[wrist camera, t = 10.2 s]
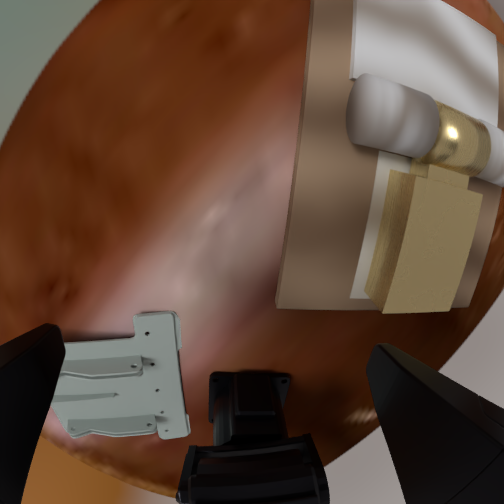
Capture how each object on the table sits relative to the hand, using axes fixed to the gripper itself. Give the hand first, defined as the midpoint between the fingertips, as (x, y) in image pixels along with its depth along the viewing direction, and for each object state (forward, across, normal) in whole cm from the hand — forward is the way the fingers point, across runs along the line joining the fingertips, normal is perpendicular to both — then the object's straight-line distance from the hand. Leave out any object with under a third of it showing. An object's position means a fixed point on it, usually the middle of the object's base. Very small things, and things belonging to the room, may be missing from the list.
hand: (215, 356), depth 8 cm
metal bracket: (+13, +9, +14) cm, 21 cm away
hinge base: (+12, -13, -7) cm, 19 cm away
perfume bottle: (+11, -13, -3) cm, 17 cm away
